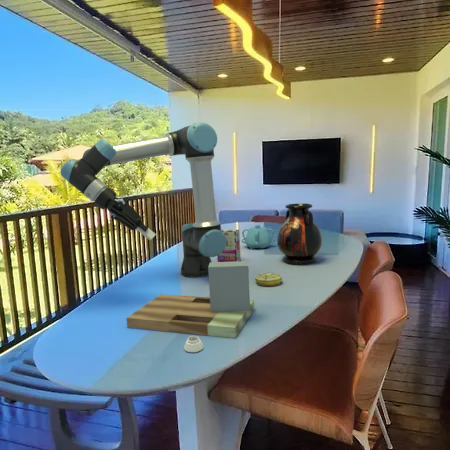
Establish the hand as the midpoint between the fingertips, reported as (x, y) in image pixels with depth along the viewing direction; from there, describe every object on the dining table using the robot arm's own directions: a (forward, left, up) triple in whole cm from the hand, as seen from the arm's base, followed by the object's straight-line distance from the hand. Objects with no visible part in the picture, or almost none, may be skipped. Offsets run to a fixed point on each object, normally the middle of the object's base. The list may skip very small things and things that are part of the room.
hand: (153, 237), depth 132 cm
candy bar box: (-59, +9, -23) cm, 64 cm away
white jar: (+33, +28, -23) cm, 49 cm away
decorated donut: (-26, +36, -23) cm, 50 cm away
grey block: (+11, +31, -20) cm, 39 cm away
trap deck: (+14, +20, -23) cm, 33 cm away
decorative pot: (-95, +16, -23) cm, 99 cm away
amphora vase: (-64, +44, -23) cm, 81 cm away
